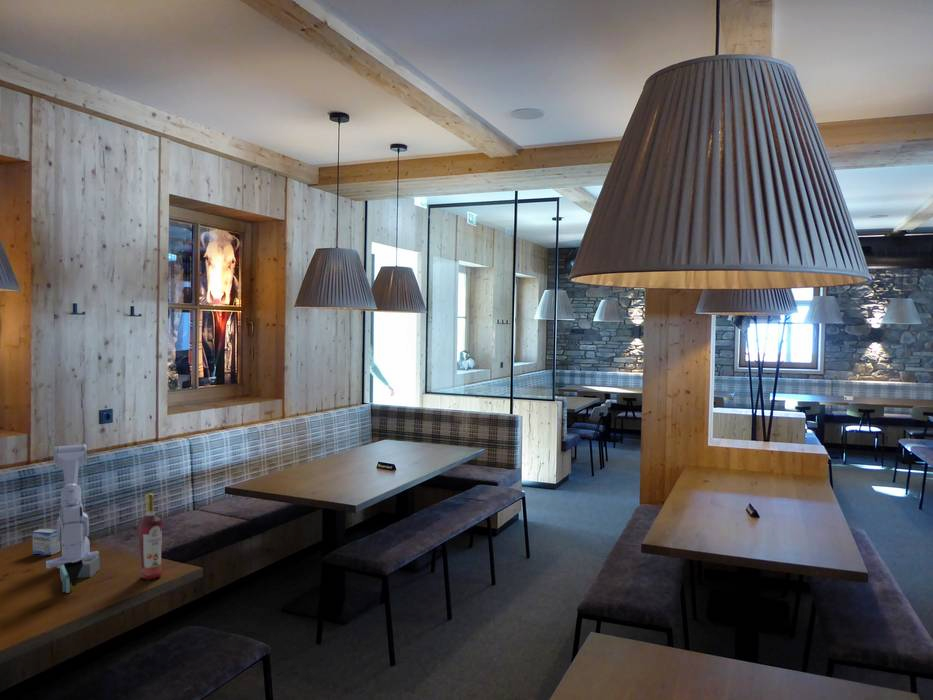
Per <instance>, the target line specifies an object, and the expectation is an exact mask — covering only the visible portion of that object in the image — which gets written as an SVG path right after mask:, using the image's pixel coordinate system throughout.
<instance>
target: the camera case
mask: <svg viewBox="0 0 933 700" xmlns="http://www.w3.org/2000/svg"><path fill="white" fill-rule="evenodd" d="M100 560H101V559H100V556H99V558H98V559H90V560H85V561H82V563H83V566H82V568H81V570H80V572H79V574H78V577H77V579H86V578H87V577H90V578H92V577H93V576H94V575H95V574H96V572H97V571H98V570H99V569H100V568H101V564H100V563H101V562H100ZM65 569H66V568H65ZM100 570H101V569H100ZM100 570H99V571H100ZM66 571H67V570H66ZM99 571H98V572H99ZM98 572H97V573H98ZM67 574H68V572H67ZM68 576H69V574H68ZM69 579H70V576H69Z"/></svg>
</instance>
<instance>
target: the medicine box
mask: <svg viewBox="0 0 933 700" xmlns="http://www.w3.org/2000/svg"><path fill="white" fill-rule="evenodd" d="M59 551H60V552H61V540H60V541H59V540H58V539H57V529H53V528H51V529H50V528H39V529H37V530H34V531H32V555H33V554H41V555H40V556H46V555H52V554H55V553H57V552H59ZM60 552H59V553H60ZM57 554H58V553H57ZM55 555H56V554H55ZM52 556H53V555H52Z"/></svg>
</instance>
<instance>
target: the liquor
mask: <svg viewBox="0 0 933 700" xmlns="http://www.w3.org/2000/svg"><path fill="white" fill-rule="evenodd" d="M154 500H155V494H154V493H146V494H144V501H145V511H144V513H145V515H144V517H143V518H141V519H140V520H139V521H138V522H137V528H138V530H137V531H138V542H139V551H140V553H139V555H140V571H141V573H140V574H139V577H140V578H142V579H143V580H145V579H153V580H156V579H158V578H159V577H160V576H161V575H162V574H163V570H162V541H163V540H162V537H163V536H162V535H163V532H162V531H163V520H162V518H160V517H158V516H156V515H155V507H154ZM157 577H158V578H157ZM155 578H156V579H155Z"/></svg>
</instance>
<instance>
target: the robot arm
mask: <svg viewBox="0 0 933 700" xmlns="http://www.w3.org/2000/svg"><path fill="white" fill-rule="evenodd" d="M87 449H88V448H87V445H86V443H83V444H72V445H61V446H60V445H59V446H56V445H55V446H54V448H53V464H54V466H55V467H56V468H58V469H62V472H63V480H64V486H63V487H62V488H61V489H60V508H59V516H58V518H57V519H56V530H57V539H58V540H59V541H60V544H61V556H60V557H56V558H53V559H49V560H46V561H45V567H46V569H52V568H54V567H56V568H57V569H60V565H64V566H65V568H66V570H67V572H68V574H69V576H70V578H69V580H70V582H71V586H72V587H75V586H77V581H78V578H77V577H78V574H79V572H80V570H81V568H82V566H83V563H82V561H85V560H90V559H98V558H99V557H100V552H99V551H98V550H95V551H91V549H90V548H91V546H90V543H91V542H90V539H89V538H88V537H89V535H90V523H89V522H90V521H89V515H88V514H87V513H86V512H84V505H83V501H82V488H81V486H80V484H79V470H80V468H81V467H82V466H84V465H86V464H87V463H88V450H87Z"/></svg>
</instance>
